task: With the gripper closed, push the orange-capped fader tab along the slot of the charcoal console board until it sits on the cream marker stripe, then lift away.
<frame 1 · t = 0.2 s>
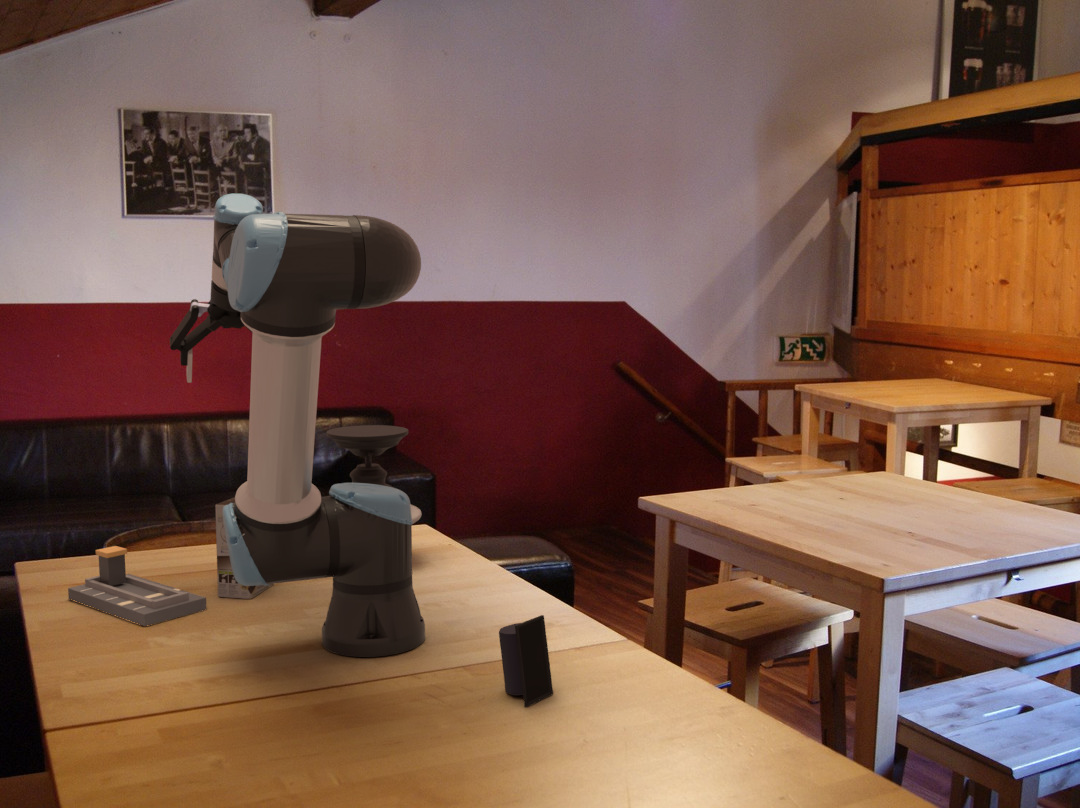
hand: (228, 377, 189), 36 cm above the table, tool tilted 35°, fingers open, 13 cm apart
console board: (136, 604, 172), on the table
fader tab: (112, 566, 176), point 5 cm above the table, slide at 0.0 cm
coffee box: (247, 592, 180), on the table
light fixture: (370, 564, 197), on the table
speaker: (522, 694, 135), on the table
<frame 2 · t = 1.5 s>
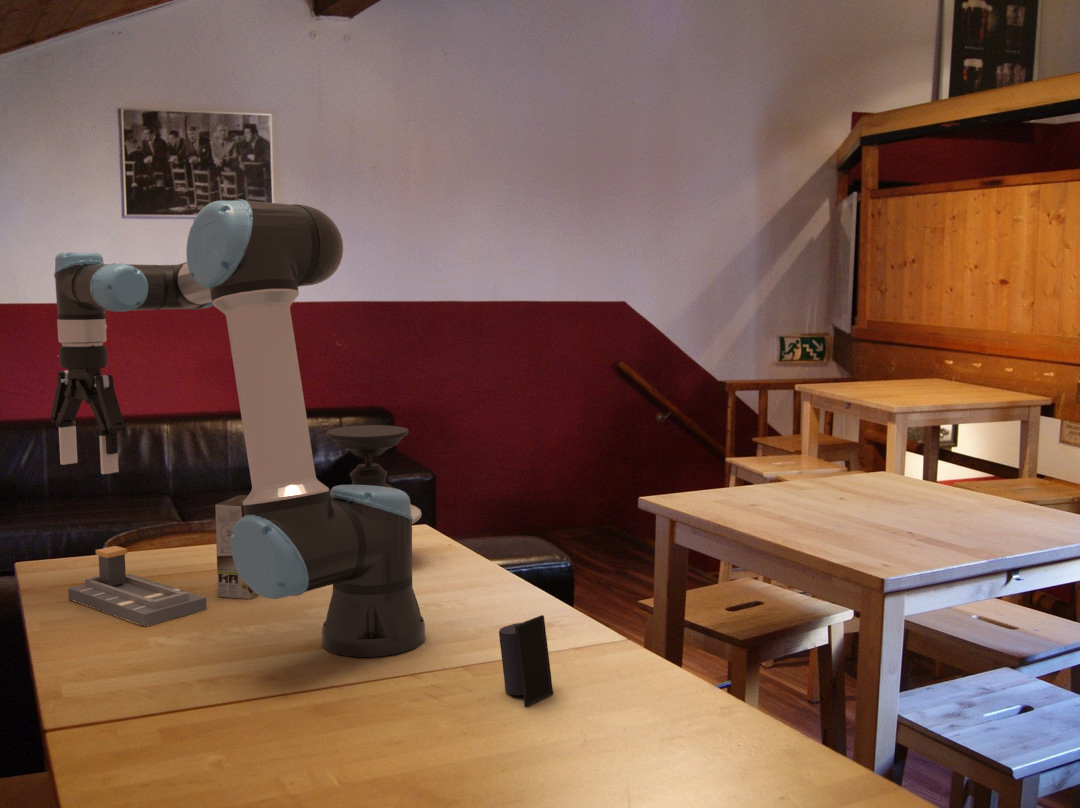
hand: (89, 468, 179), 21 cm above the table, tool pointing down, fingers open, 13 cm apart
nothing on the table moved.
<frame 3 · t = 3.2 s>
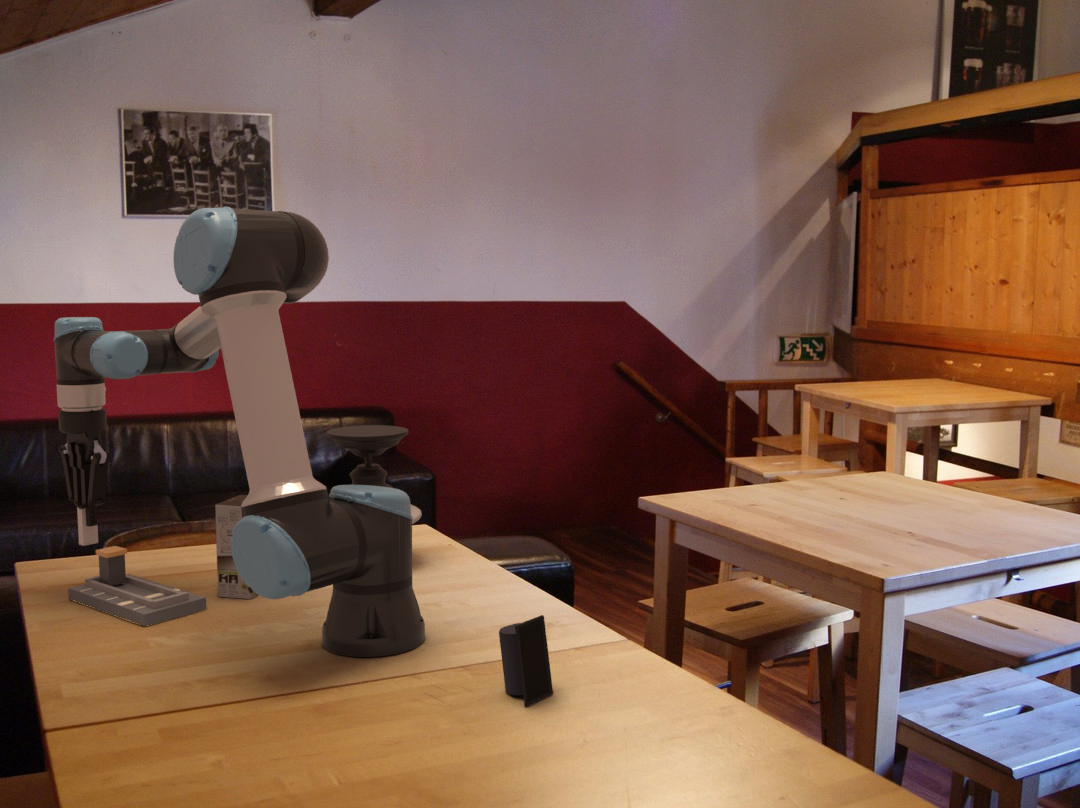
hand: (88, 543, 180), 8 cm above the table, tool pointing down, fingers closed
nothing on the table moved.
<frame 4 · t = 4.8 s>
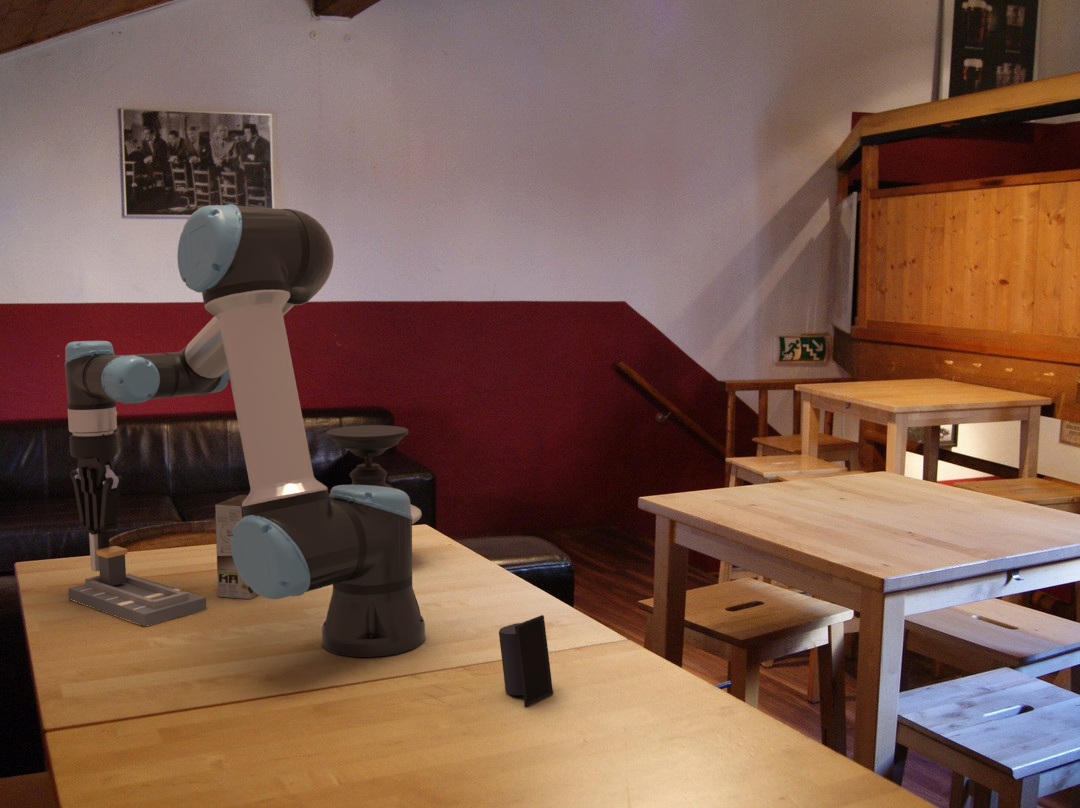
hand: (100, 569, 178), 4 cm above the table, tool pointing down, fingers closed
fader tab: (112, 566, 176), point 5 cm above the table, slide at 0.1 cm, touching gripper
everything else where it was.
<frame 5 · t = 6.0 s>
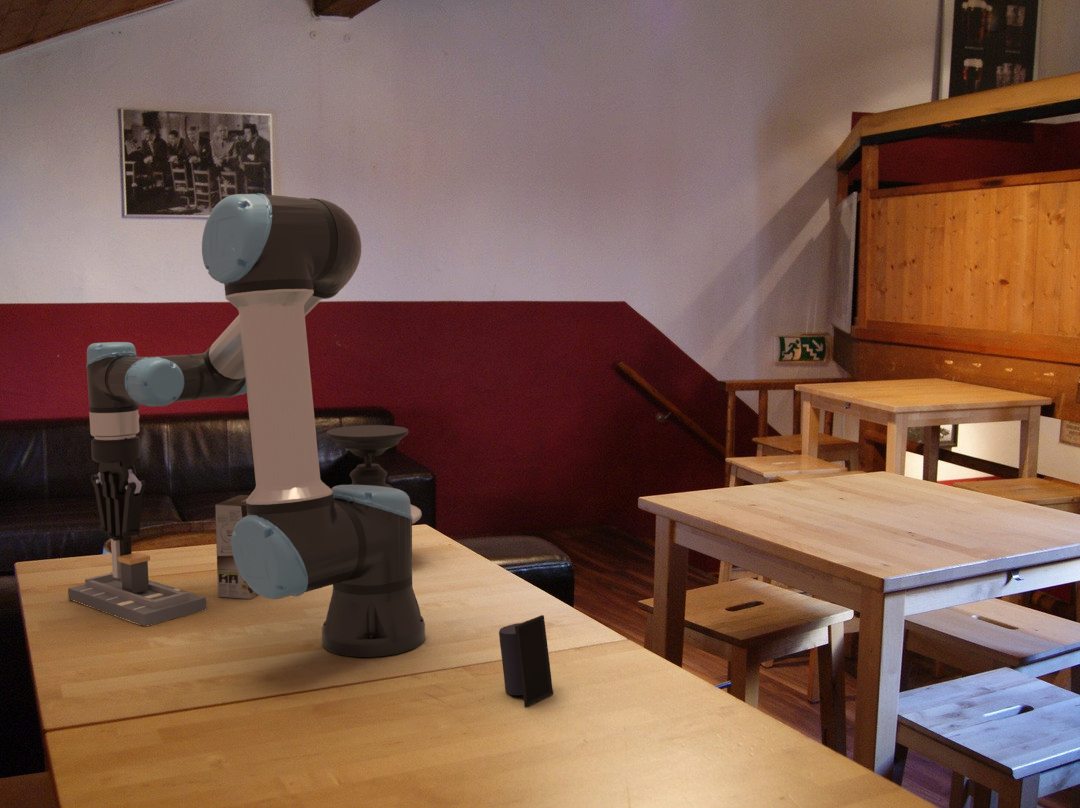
hand: (122, 575, 174), 4 cm above the table, tool pointing down, fingers closed
fader tab: (134, 573, 172), point 5 cm above the table, slide at 7.0 cm, touching gripper
everything else where it was.
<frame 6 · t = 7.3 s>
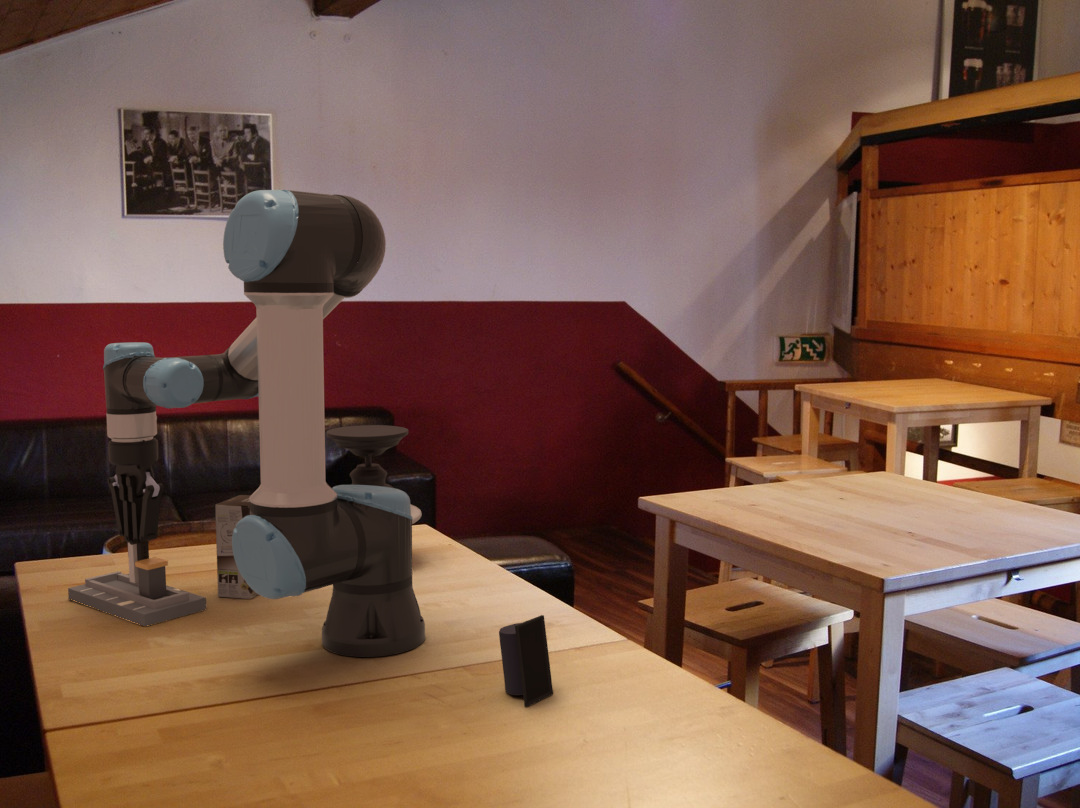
hand: (139, 580, 171), 4 cm above the table, tool pointing down, fingers closed
fader tab: (152, 578, 169), point 5 cm above the table, slide at 12.1 cm, touching gripper
everything else where it was.
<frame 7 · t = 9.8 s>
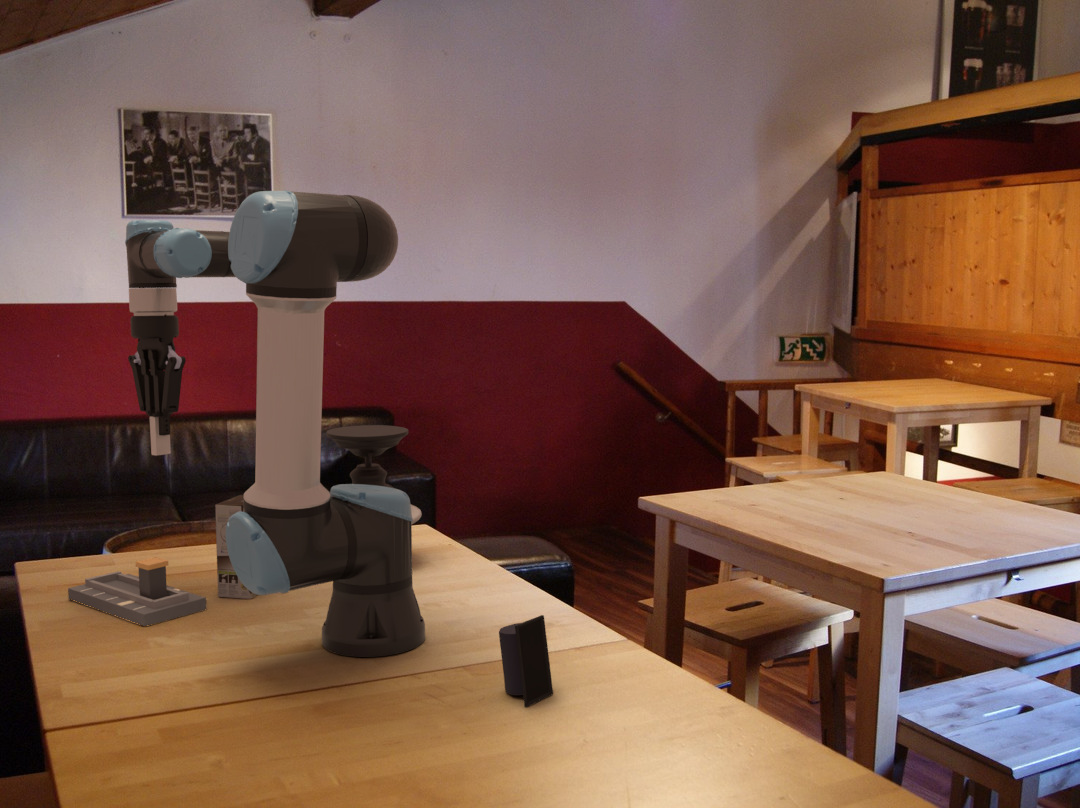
hand: (161, 454, 176), 24 cm above the table, tool pointing down, fingers closed
fader tab: (152, 578, 169), point 5 cm above the table, slide at 12.2 cm
everything else where it was.
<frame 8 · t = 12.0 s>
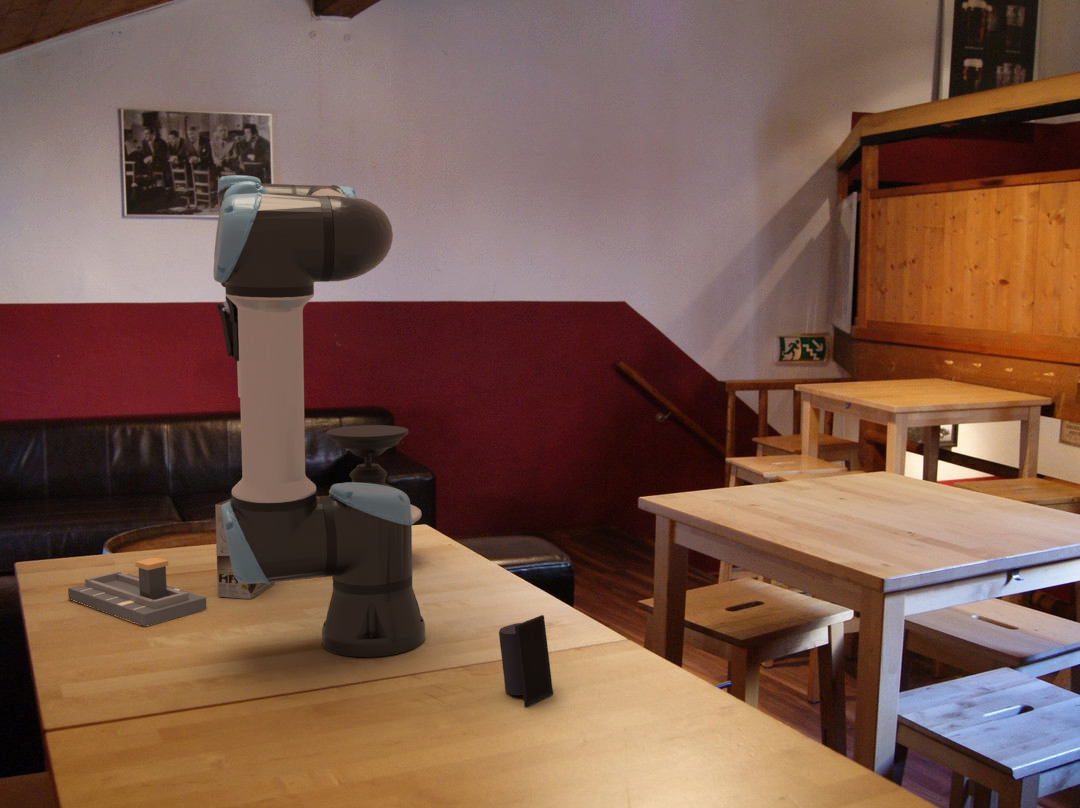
hand: (247, 396, 188), 32 cm above the table, tool pointing down, fingers closed
nothing on the table moved.
at the end: fader tab slide at 12.2 cm; the gripper is holding nothing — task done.
